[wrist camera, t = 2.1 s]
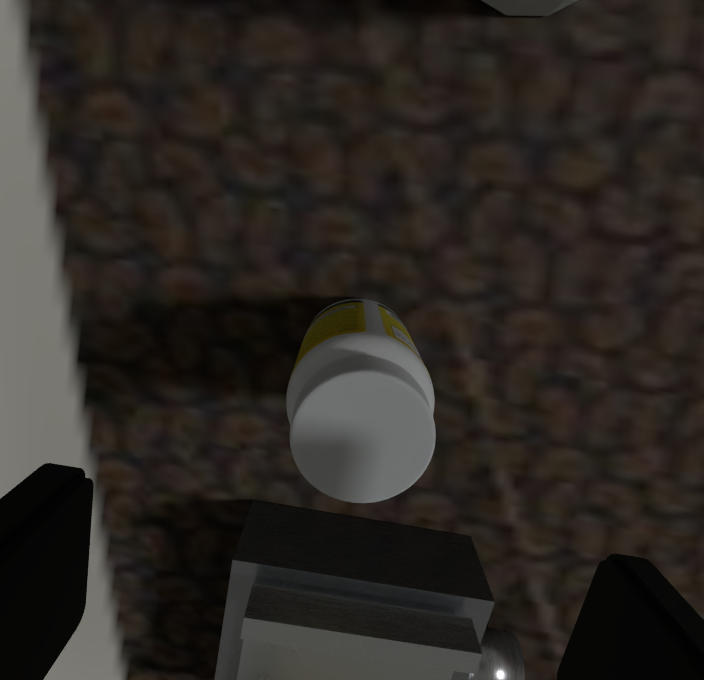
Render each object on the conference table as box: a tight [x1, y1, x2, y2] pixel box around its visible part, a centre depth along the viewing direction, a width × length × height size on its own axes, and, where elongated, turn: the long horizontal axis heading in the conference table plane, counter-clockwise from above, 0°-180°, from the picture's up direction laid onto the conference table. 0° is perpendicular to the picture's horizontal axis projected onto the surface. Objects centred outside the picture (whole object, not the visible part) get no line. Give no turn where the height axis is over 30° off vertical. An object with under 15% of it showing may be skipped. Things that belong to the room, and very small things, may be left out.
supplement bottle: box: [286, 299, 436, 503], centre depth 16 cm, size 5×5×8 cm
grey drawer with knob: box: [214, 500, 525, 680], centre depth 21 cm, size 11×14×6 cm
